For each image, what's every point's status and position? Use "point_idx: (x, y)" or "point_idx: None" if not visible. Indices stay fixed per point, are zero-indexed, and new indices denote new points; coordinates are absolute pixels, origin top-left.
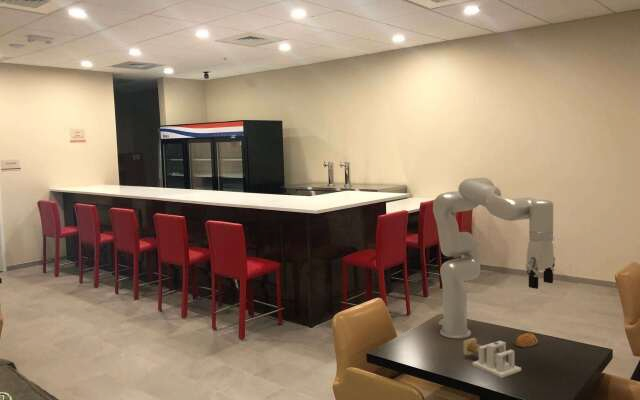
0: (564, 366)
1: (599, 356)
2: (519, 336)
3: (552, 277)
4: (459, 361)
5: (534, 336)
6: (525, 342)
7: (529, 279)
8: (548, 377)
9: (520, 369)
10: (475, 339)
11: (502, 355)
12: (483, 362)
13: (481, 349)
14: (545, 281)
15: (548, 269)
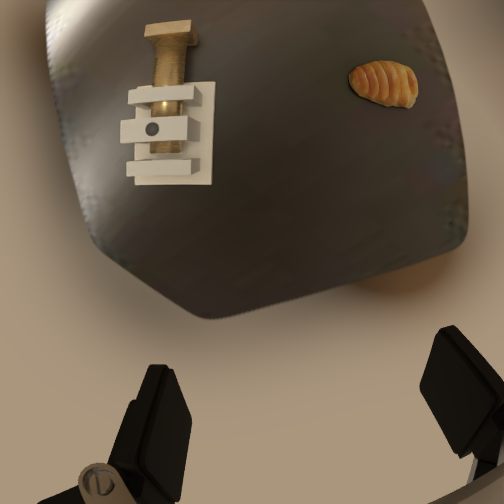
0: (325, 234)
1: (428, 251)
2: (384, 65)
3: (442, 422)
4: (134, 56)
5: (413, 98)
6: (368, 94)
7: (130, 431)
8: (234, 248)
9: (207, 184)
10: (184, 32)
11: (137, 175)
12: (149, 109)
13: (129, 102)
14: (434, 350)
15: (491, 448)
